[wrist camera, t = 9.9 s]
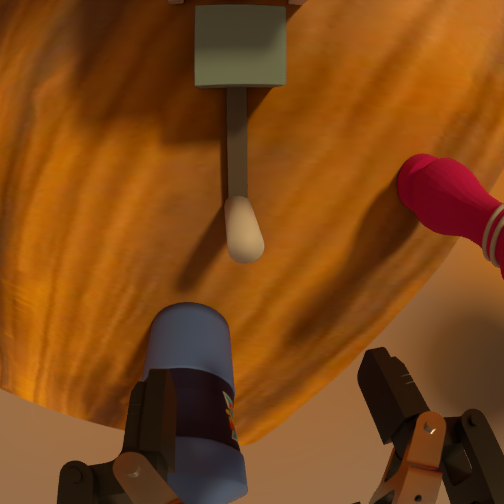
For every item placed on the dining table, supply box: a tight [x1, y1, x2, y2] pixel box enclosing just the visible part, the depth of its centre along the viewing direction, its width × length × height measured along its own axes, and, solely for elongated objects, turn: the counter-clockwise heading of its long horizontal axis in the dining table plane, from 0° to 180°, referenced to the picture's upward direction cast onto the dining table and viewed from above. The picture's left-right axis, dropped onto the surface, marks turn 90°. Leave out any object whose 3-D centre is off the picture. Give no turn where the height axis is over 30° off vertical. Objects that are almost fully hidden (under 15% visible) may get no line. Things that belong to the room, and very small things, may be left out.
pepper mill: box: [397, 154, 504, 279], centre depth 19 cm, size 7×7×20 cm
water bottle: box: [142, 302, 248, 504], centre depth 23 cm, size 9×9×25 cm
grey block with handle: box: [195, 4, 286, 263], centre depth 20 cm, size 18×6×8 cm, turn 0°
